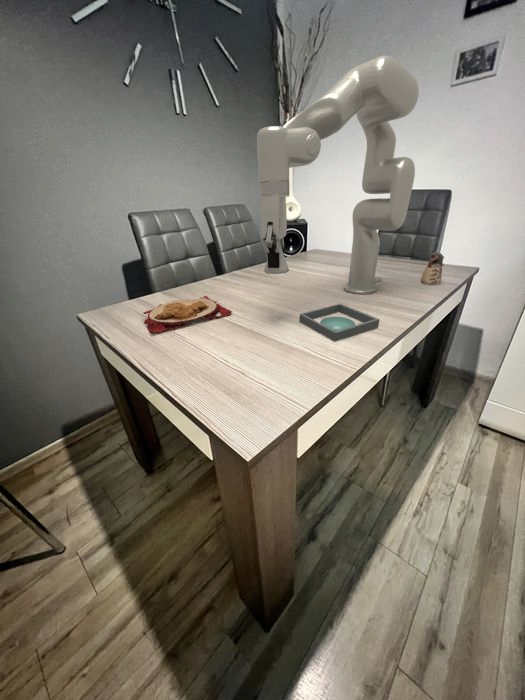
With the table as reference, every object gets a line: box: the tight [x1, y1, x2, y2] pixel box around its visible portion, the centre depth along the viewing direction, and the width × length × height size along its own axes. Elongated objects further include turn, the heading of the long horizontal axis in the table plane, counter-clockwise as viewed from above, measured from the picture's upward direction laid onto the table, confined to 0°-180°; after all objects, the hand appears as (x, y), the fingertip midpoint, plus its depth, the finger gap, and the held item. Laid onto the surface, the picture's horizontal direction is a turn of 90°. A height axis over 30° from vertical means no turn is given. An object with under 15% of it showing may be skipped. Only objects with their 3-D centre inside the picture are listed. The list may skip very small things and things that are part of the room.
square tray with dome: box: [298, 303, 380, 342], centre depth 80 cm, size 16×16×2 cm
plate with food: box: [142, 295, 233, 334], centre depth 94 cm, size 25×26×4 cm
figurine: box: [420, 252, 445, 286], centre depth 109 cm, size 7×7×12 cm
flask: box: [263, 238, 290, 275], centre depth 75 cm, size 7×7×10 cm
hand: (276, 264), depth 77 cm, fingers closed on flask, 4 cm apart
